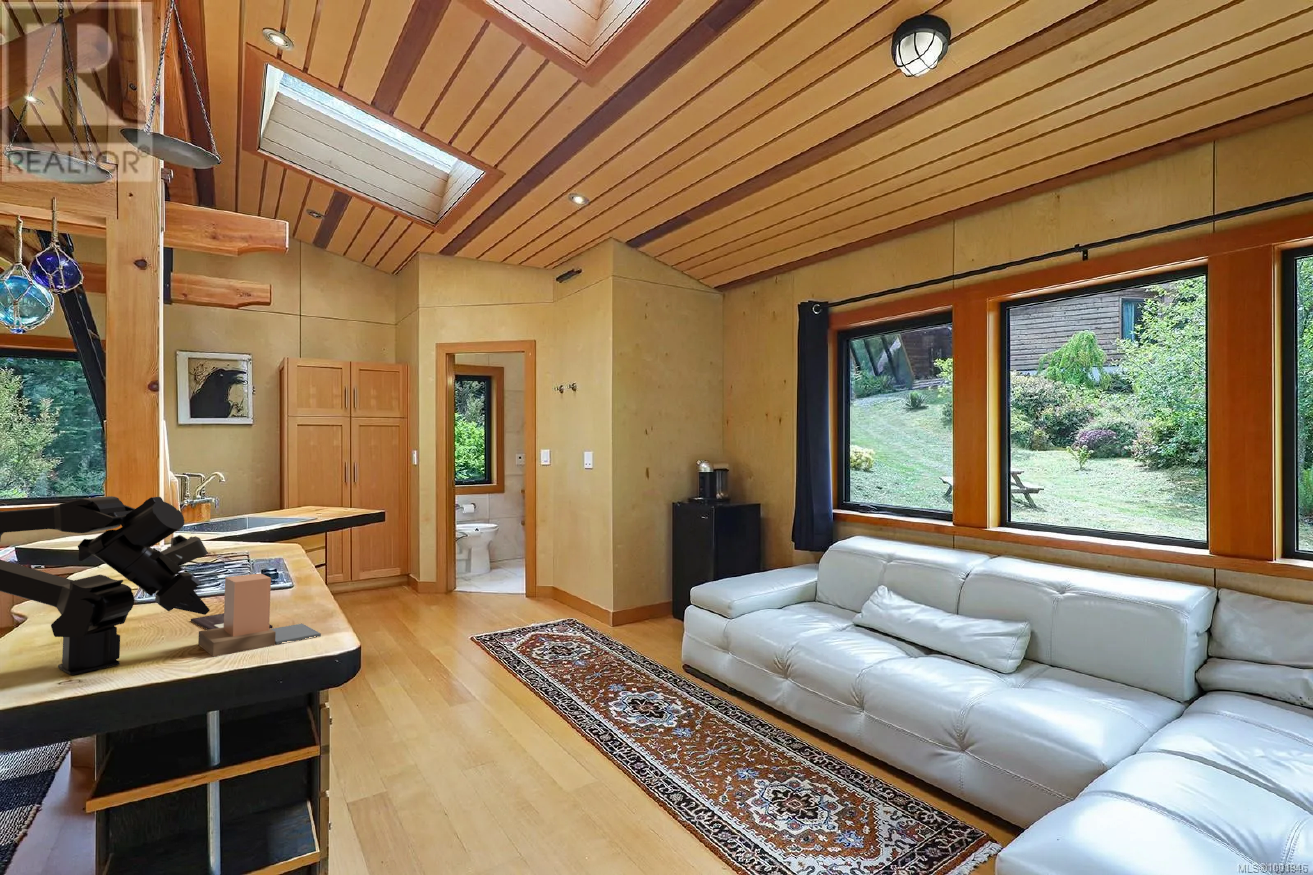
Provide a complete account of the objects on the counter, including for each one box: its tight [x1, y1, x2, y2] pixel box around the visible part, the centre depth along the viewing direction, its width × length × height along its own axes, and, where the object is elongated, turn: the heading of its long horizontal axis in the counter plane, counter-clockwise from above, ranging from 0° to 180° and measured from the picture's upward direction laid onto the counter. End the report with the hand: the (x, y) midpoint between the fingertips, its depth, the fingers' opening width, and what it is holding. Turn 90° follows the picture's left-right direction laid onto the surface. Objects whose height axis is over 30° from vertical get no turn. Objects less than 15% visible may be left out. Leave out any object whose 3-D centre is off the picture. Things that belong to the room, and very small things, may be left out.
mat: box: [271, 623, 322, 645], centre depth 129 cm, size 8×10×1 cm
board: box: [197, 627, 276, 657], centre depth 122 cm, size 10×10×2 cm
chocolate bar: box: [190, 612, 274, 630], centre depth 135 cm, size 9×1×18 cm
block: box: [223, 573, 272, 636], centre depth 123 cm, size 6×6×10 cm
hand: (207, 612), depth 118 cm, fingers closed
